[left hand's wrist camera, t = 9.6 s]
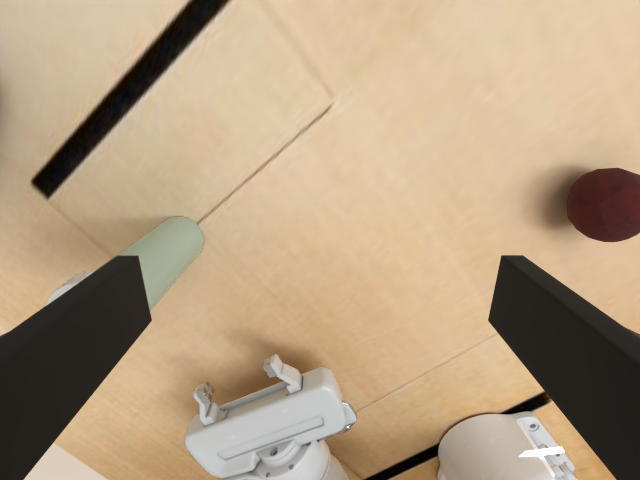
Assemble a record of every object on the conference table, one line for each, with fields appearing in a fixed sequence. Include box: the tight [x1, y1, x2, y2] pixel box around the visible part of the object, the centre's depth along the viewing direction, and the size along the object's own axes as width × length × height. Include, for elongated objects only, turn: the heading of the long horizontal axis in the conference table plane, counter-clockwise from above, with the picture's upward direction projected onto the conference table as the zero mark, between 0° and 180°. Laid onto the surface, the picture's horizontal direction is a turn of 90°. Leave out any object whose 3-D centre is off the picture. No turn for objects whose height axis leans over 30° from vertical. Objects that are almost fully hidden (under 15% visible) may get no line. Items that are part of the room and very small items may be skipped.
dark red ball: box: [567, 168, 640, 242], centre depth 35 cm, size 7×8×7 cm
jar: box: [97, 216, 204, 311], centre depth 33 cm, size 5×5×17 cm
